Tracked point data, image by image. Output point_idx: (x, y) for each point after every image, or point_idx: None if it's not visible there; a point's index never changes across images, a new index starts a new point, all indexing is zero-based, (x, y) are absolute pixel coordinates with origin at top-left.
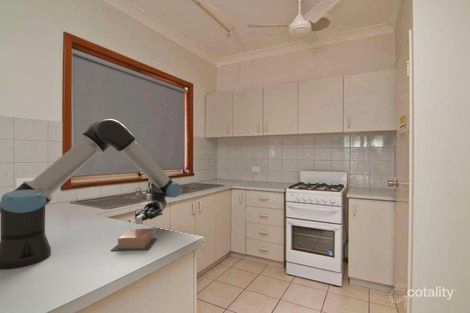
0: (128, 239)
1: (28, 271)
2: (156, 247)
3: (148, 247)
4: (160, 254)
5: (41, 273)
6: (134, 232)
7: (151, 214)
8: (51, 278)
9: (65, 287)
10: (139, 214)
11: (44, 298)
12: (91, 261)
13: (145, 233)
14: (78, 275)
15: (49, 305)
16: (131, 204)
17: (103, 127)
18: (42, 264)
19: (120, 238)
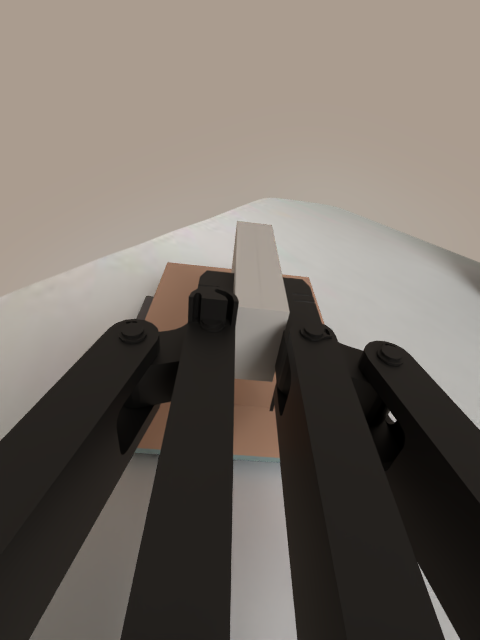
0: None
1: (440, 262)
2: (105, 325)
3: (147, 311)
4: (94, 273)
5: (396, 252)
6: None
7: (119, 333)
8: (349, 237)
9: (291, 217)
10: (314, 323)
11: (300, 208)
12: (326, 273)
13: (172, 307)
14: (301, 235)
15: (277, 199)
16: None
17: None
18: (455, 281)
19: (295, 277)
